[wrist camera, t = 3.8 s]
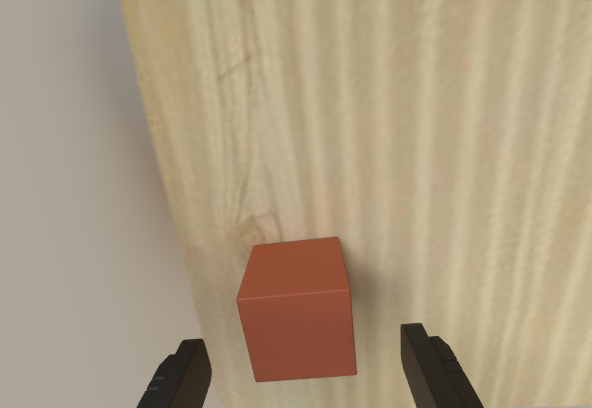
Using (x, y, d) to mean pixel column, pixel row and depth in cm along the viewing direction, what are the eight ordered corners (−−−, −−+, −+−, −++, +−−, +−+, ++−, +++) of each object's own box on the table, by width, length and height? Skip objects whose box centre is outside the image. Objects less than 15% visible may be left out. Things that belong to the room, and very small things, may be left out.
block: (266, 313, 17) (255, 383, 13) (253, 245, 16) (235, 299, 12) (344, 306, 17) (357, 376, 13) (338, 236, 16) (350, 289, 11)
